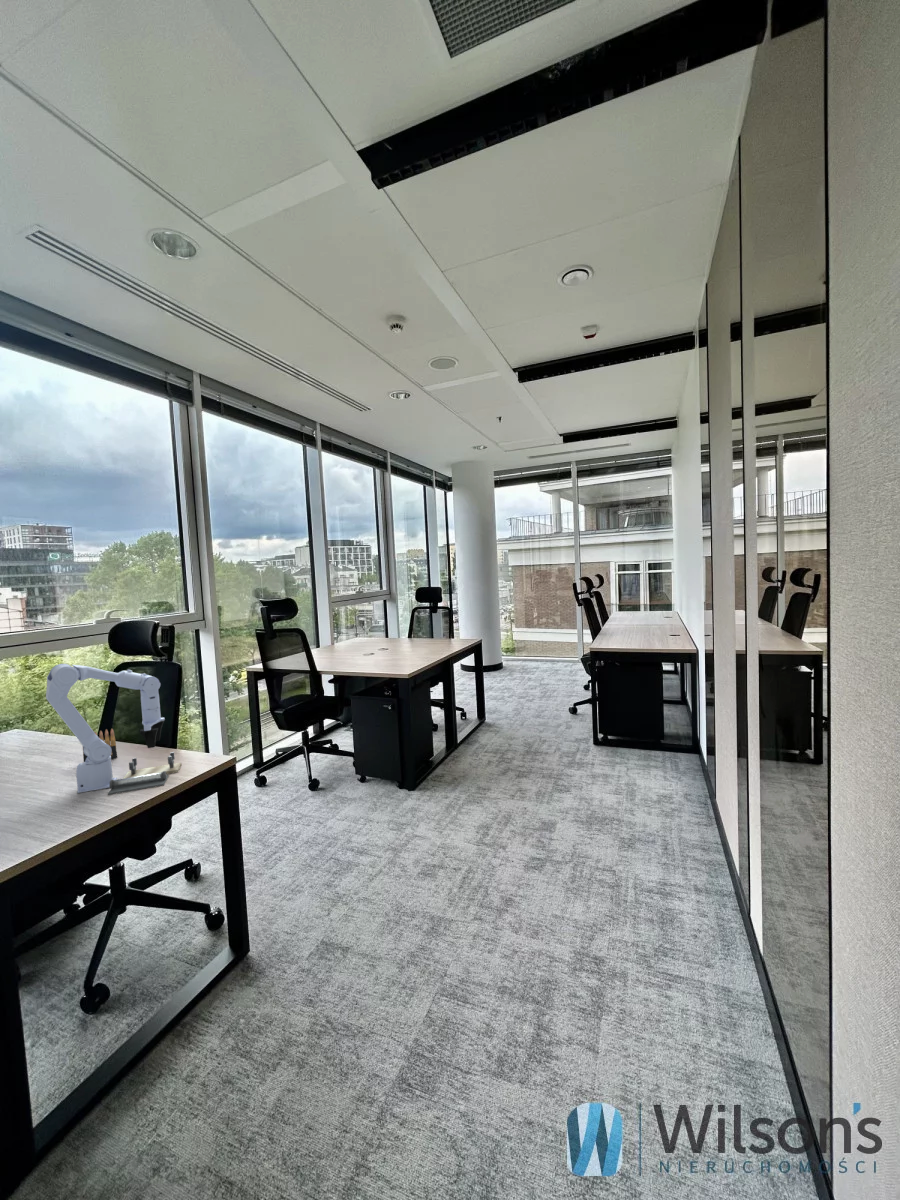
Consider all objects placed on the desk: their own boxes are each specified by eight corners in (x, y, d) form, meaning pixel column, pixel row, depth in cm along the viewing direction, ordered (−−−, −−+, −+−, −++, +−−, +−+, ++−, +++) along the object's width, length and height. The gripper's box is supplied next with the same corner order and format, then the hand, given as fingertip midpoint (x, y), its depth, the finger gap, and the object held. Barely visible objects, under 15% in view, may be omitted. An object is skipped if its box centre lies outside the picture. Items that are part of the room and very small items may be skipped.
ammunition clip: (83, 765, 182) (80, 734, 181) (83, 763, 184) (81, 733, 183) (117, 757, 188) (114, 728, 188) (117, 756, 190) (114, 727, 189)
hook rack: (123, 781, 165) (121, 765, 165) (128, 773, 172) (127, 758, 172) (178, 772, 171) (176, 756, 171) (181, 765, 178) (180, 750, 177)
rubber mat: (108, 795, 155) (107, 793, 155) (115, 785, 162) (115, 783, 162) (163, 785, 161) (163, 783, 161) (168, 776, 168) (168, 774, 168)
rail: (110, 790, 157) (109, 782, 157) (112, 785, 160) (111, 778, 160) (164, 780, 163) (164, 773, 163) (166, 776, 166) (165, 769, 165)
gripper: (158, 711, 169) (161, 748, 169) (167, 701, 182) (170, 736, 183) (135, 714, 166) (139, 752, 167) (146, 704, 180) (149, 739, 180)
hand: (153, 744), depth 175 cm, fingers open, 7 cm apart
